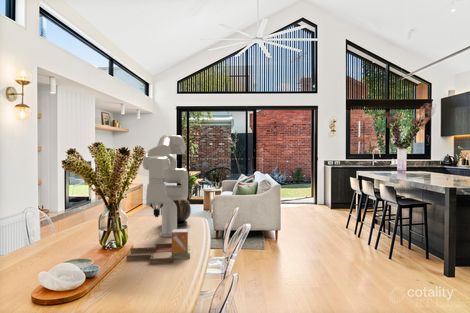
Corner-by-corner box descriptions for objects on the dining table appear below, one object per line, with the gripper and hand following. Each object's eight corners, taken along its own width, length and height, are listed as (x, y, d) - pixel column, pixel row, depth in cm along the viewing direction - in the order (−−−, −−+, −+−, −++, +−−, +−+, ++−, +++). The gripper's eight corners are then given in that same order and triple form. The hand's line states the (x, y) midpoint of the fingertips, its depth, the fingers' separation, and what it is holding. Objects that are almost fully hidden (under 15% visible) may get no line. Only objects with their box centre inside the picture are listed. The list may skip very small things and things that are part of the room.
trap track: (132, 249, 184) (132, 244, 184) (189, 247, 188) (189, 242, 188) (123, 265, 158) (123, 260, 158) (190, 262, 162) (190, 257, 162)
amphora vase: (188, 228, 232) (188, 188, 232) (157, 228, 233) (157, 188, 232) (192, 221, 254) (192, 184, 253) (164, 221, 254) (164, 184, 253)
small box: (171, 257, 169) (171, 232, 169) (172, 253, 176) (172, 229, 175) (187, 257, 170) (187, 231, 170) (188, 253, 177) (188, 228, 176)
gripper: (171, 180, 177) (171, 214, 178) (142, 180, 175) (142, 215, 176) (170, 182, 169) (171, 218, 170) (140, 182, 167) (140, 218, 168)
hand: (156, 216), depth 173 cm, fingers closed
